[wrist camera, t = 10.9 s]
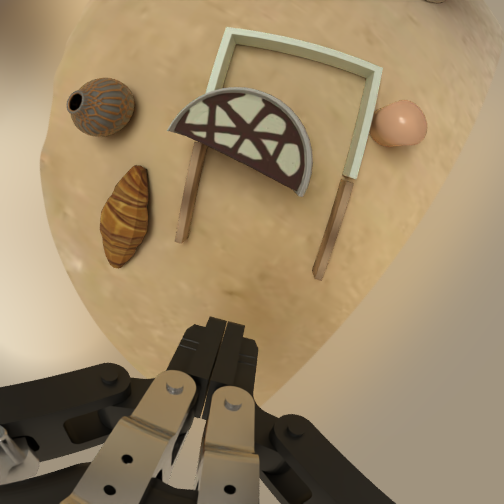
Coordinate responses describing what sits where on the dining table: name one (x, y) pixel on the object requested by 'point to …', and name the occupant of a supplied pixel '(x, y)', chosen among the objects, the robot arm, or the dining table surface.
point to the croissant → (125, 217)
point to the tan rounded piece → (398, 124)
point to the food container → (251, 133)
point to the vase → (101, 107)
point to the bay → (316, 54)
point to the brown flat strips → (190, 198)
